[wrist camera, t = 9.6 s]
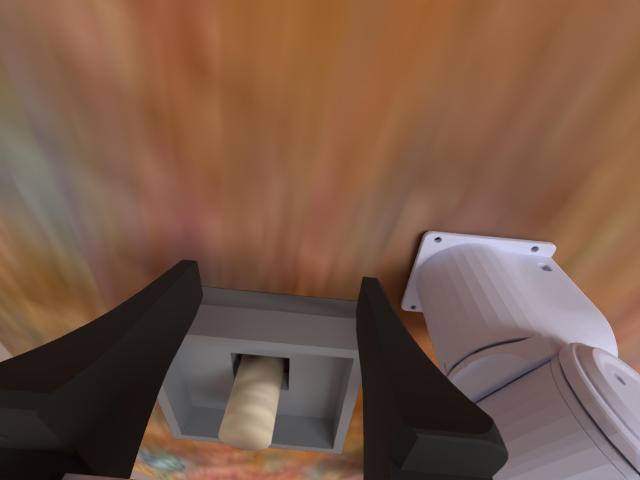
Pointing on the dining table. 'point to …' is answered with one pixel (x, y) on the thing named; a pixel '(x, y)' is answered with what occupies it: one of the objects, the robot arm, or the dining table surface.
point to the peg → (253, 403)
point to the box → (277, 341)
